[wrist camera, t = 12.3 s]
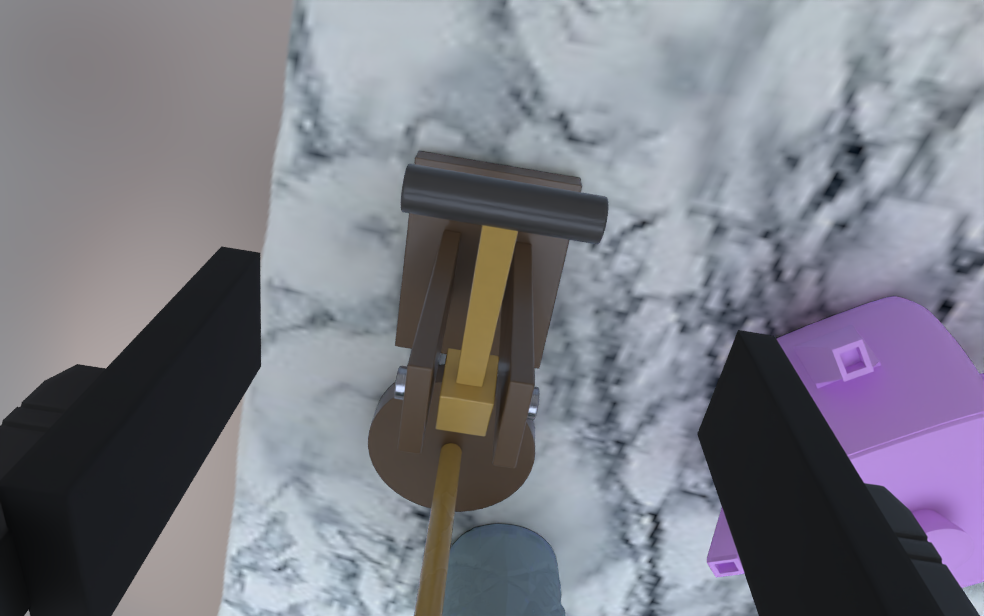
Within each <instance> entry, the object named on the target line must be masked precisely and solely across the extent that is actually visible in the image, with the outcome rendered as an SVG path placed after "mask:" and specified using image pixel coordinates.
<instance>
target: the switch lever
mask: <svg viewBox="0 0 984 616" xmlns="http://www.w3.org/2000/svg"><path fill="white" fill-rule="evenodd" d="M401 210H402V212H405V213H411V214H417V215H423V216H429V217H435V218H441V219H447V220H453V221H459V222H465V223H471V224H477V225H482V228H481V234H480V240H479V246H478V252H477V258H476V264H475V270H474V276H473V282H472V288H471V294H470V299H469V305H468V311H467V317H466V323H465V329H464V335H463V341H462V347H461V350H457V349H450V348H449V349H448V350H447V356H446V362H445V367H444V373H443V379H442V385H441V391H440V397H439V404H438V411H437V418H436V426H435V428H436V429H439V430H445V431H452V432H458V433H465V434H471V435H478V436H486V433H487V429H488V425H489V422H490V418H491V414H492V410H493V406H494V401H495V392H496V383H497V374H498V365H499V356H495V355H490V352H491V348H492V343H493V339H494V335H495V330H496V326H497V322H498V317H499V313H500V309H501V304H502V300H503V296H504V291H505V287H506V283H507V278H508V274H509V269H510V265H511V261H512V256H513V252H514V248H515V243H516V239H517V235H518V231H520V232H526V233H532V234H538V235H544V236H550V237H556V238H562V239H568V240H574V241H580V242H586V243H592V244H599V243H600V241H601V239H602V237H603V234H604V231H605V227H606V222H607V216H608V199H607V197H605V196H599V195H593V194H587V193H581V192H575V191H569V190H563V189H557V188H551V187H545V186H539V185H534V184H528V183H522V182H516V181H510V180H504V179H498V178H492V177H486V176H480V175H474V174H468V173H462V172H456V171H450V170H445V169H439V168H433V167H427V166H421V165H415V164H408V166H407V168H406V171H405V175H404V181H403V187H402V195H401Z"/></svg>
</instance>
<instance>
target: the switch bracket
mask: <svg viewBox="0 0 984 616" xmlns="http://www.w3.org/2000/svg"><path fill="white" fill-rule="evenodd" d="M415 165H421V166H427V167H433V168H439V169H445V170H450V171H456V172H462V173H468V174H474V175H480V176H486V177H492V178H498V179H504V180H510V181H516V182H522V183H528V184H534V185H539V186H545V187H551V188H557V189H563V190H569V191H575V192H581V188H582V184H581V180H580V178H577V177H571V176H565V175H559V174H553V173H547V172H541V171H535V170H529V169H523V168H518V167H512V166H506V165H500V164H494V163H488V162H482V161H476V160H470V159H464V158H458V157H453V156H447V155H441V154H435V153H429V152H423V151H418V153H417V155H416V157H415ZM481 228H482V225H477V224H471V223H465V222H459V221H453V220H447V219H441V218H435V217H429V216H423V215H417V214H411V213H409V220H408V230H407V239H406V248H405V258H404V267H403V276H402V286H401V295H400V304H399V313H398V323H397V332H396V341H395V346H398V347H404V348H411V349H412V351H411V354H410V358H409V362H408V365H407V367H405V366H400V367H399V369H398V373H397V377H396V383H395V390H394V398H395V399H400V400H403V407H402V415H401V423H400V432H399V440H398V451H402V452H408V453H415V454H420V453H421V451H422V446H423V441H424V436H425V431H426V426H427V421H428V416H429V411H430V405H431V400H432V395H433V390H434V385H435V380H436V375H437V370H438V365H439V360H440V355H441V353H443V354H447V350H448V349H449V348H450V349H457V350H461V347H462V341H463V335H464V329H465V323H466V317H467V311H468V305H469V299H470V294H471V288H472V282H473V276H474V270H475V264H476V258H477V252H478V246H479V240H480V234H481ZM568 244H569V240H568V239H562V238H556V237H550V236H544V235H538V234H532V233H526V232H520V231H518V235H517V239H516V243H515V248H514V252H513V256H512V261H511V265H510V269H509V274H508V278H507V283H506V287H505V291H504V296H503V300H502V304H501V309H500V313H499V317H498V322H497V326H496V330H495V335H494V339H493V343H492V348H491V352H490V355H495V356H499V365H498V378H497V394H496V410H495V427H494V443H493V460H492V463H493V465H494V466H501V467H508V468H515V467H516V464H517V459H518V455H519V451H520V446H521V442H522V438H523V434H524V429H525V425H526V421H527V419H529V420H534V419H535V417H536V414H537V410H538V403H539V388H538V387H535V374H534V368H538V369H539V367H540V363H541V359H542V354H543V350H544V346H545V342H546V337H547V333H548V329H549V325H550V320H551V316H552V312H553V308H554V303H555V299H556V295H557V291H558V286H559V282H560V278H561V273H562V269H563V265H564V261H565V256H566V252H567V248H568Z"/></svg>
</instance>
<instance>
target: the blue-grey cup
mask: <svg viewBox="0 0 984 616" xmlns="http://www.w3.org/2000/svg"><path fill="white" fill-rule="evenodd" d="M560 589H561V584H560V580H559V573H558V565H557V560H556V556H555V554H554V552H553V550H552V548H551V546H550V545H549V544H548V543H547V542H546V541H545V540H544V539H543V538H542V537H541V536H539V535H538V534H536V533H535V532H533V531H530V530H528V529H526V528H523V527H519V526H515V525H509V524H491V525H485V526H481V527H479V528H478V527H475V528H473V529H472V530H471V531H470V532H466V533H465V534H464V535H461V537H460V538H459V539H458V540H457V541H456V542H455V543H454V544H453V546H452V547H451V549H450V555H449V564H448V572H447V580H446V588H445V597H444V605H443V613H442V616H565V610H564V608H563V606H562V605H561V590H560Z"/></svg>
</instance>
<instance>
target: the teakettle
mask: <svg viewBox="0 0 984 616" xmlns="http://www.w3.org/2000/svg"><path fill="white" fill-rule="evenodd" d="M776 339H777V341H778V342H779V344H780V346H781V347H782V349H783V351H784V352H785V354H786V356H787V357H788V359H789V360H790V362H791V364H792V365H793V367H794V369H795V370H796V372H797V374H798V375H799V377H800V379H801V380H802V382H803V383H804V385H805V387H806V388H807V390H808V392H809V393H810V395H811V397H812V398H813V400H814V402H815V403H816V405H817V406H818V408H819V410H820V411H821V413H822V415H823V416H824V418H825V420H826V421H827V423H828V425H829V426H830V428H831V429H832V431H833V433H834V434H835V436H836V438H837V439H838V441H839V443H840V444H841V446H842V448H843V449H844V451H845V452H846V454H847V456H848V457H849V459H850V461H851V462H852V464H853V466H854V467H855V469H856V471H857V472H858V474H859V475H860V477H861V479H862V480H863V482H864V483H867V484H874V485H880V486H884V487H885V488H886V489H887V490H889V491H890V492H891V493H892V494H893V495H894V496H895V497H896V498H897V499H898V500H899V501H901V502H902V503H903V504H904V505H905V506H906V507H907V508H908V509H909V510H910V511H911V512H912V514H913V515H914V517H915V518H916V520H917V521H918V523H919V524H920V526H921V527H922V529H923V530H924V532H925V533H926V535H927V536H928V538H927V540H928V542H932V544H933V546H934V547H935V549H936V550H937V552H938V553H939V555H940V556H941V558H942V564H945V565H947V567H948V568H949V570H950V571H951V573H952V574H953V576H954V577H955V579H956V580H957V582H958V583H959V585H960V586H961V588H963V587H967V586H970V585H974V584H977V583H981V582H984V373H983V374H979V372H978V371H977V369H976V368H975V366H974V364H973V363H972V362H971V360H970V359H969V357H968V356H967V354H966V353H965V352H964V350H963V349H962V348H961V346H960V345H959V344H958V343H957V341H956V340H955V339H954V338H953V336H952V335H951V334H950V333H949V332H948V331H947V329H946V328H945V327H944V326H943V325H942V324H941V323H940V321H939V320H938V319H937V318H936V317H935V316H934V315H933V314H932V313H931V312H930V311H929V310H928V309H926V308H925V307H923V306H921V305H919V304H917V303H915V302H912V301H910V300H907V299H905V298H901V297H896V296H892V297H887V298H882V299H879V300H876V301H873V302H870V303H867V304H864V305H861V306H858V307H856V308H853V309H850V310H847V311H845V312H842V313H839V314H836V315H834V316H831V317H828V318H826V319H823V320H821V321H818V322H815V323H813V324H810V325H808V326H805V327H803V328H800V329H798V330H795V331H793V332H791V333H788V334H786V335H783V336H781V337H779V338H776ZM707 564H708V565H709V567H710V568H711V570H712V572H713V573H714V575H715V577H722V576H730V575H738V574H745V573H744V570H743V567H742V564H741V561H740V558H739V555H738V552H737V549H736V546H735V544H734V541H733V538H732V535H731V532H730V529H729V526H728V523H727V520H726V517H725V514H724V511H723V508H721V512H720V515H719V519H718V522H717V525H716V529H715V532H714V536H713V539H712V542H711V546H710V549H709V553H708V556H707ZM962 590H963V589H962Z"/></svg>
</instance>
